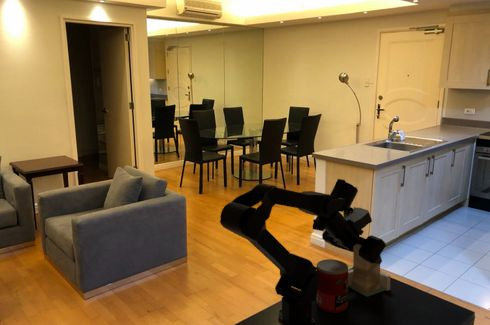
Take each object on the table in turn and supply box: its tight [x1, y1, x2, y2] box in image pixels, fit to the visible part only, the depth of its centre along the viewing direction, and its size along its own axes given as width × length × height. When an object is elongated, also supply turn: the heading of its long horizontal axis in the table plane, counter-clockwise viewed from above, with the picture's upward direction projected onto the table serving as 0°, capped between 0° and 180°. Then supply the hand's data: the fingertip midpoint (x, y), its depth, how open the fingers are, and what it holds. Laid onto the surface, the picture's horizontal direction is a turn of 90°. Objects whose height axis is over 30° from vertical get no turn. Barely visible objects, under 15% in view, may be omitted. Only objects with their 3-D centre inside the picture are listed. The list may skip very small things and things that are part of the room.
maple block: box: [352, 237, 381, 293], centre depth 111 cm, size 5×5×13 cm
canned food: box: [316, 258, 349, 314], centre depth 102 cm, size 8×8×11 cm
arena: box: [348, 268, 391, 298], centre depth 111 cm, size 13×9×4 cm
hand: (367, 256), depth 110 cm, fingers open, 9 cm apart
